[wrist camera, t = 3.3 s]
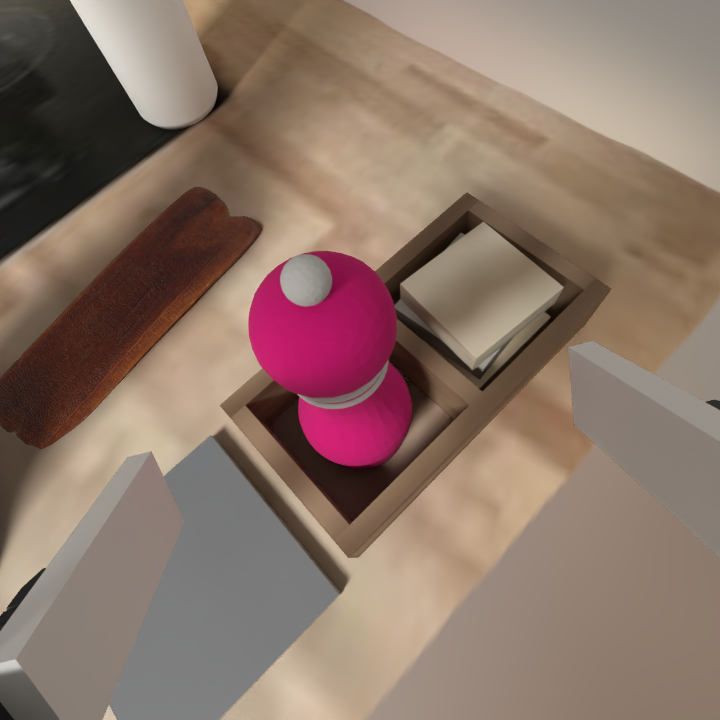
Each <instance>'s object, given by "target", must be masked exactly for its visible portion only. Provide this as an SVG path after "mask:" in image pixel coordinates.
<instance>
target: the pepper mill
mask: <svg viewBox="0 0 720 720" xmlns="http://www.w3.org/2000/svg"><path fill="white" fill-rule="evenodd" d="M396 333H397V316H396V311H395V307H394V303H393V300H392V298H391V295H390V293H389V291H388V289H387V287H386V286H385V284H384V282H383V281H382V280H381V278H380V277H379V276H378V275H377V273H376V272H375V271H373V270H372V269H371V268H370V267H368V266H367V265H366V264H365V263H364V262H362V261H360V260H358V259H356V258H354V257H352V256H348V255H345V254H342V253H337V252H330V251H315V252H310V253H304V254H301V255H298V256H295V257H292V258H290V259H288V260H287V261H285V262H283V263H282V264H280V265H278V266H277V267H276V268H275V269H274V270H273V271H272V272H271V273H269V274H268V275H267V276H266V278H265V279H264V280H263V282H262V283H261V284H260V286H259V288H258V289H257V291H256V293H255V295H254V298H253V301H252V304H251V308H250V312H249V337H250V341H251V345H252V349H253V351H254V353H255V356H256V358H257V360H258V362H259V363H260V365H261V367H262V368H263V369H264V370H265V371H266V373H267V374H268V375H269V376H270V377H271V378H272V379H273V380H274V381H276V382H277V383H278V384H279V385H281V386H282V387H283V388H285V389H287V390H289V391H291V392H293V393H295V394H297V395H298V396H299V406H298V414H299V421H300V424H301V427H302V430H303V432H304V434H305V436H306V438H307V439H308V441H309V443H310V444H311V445H312V447H313V448H314V449H315V450H316V451H317V452H318V453H319V454H321V455H322V456H323V457H325V458H327V459H328V460H330V461H332V462H335V463H338V464H342V465H344V466H347V467H350V468H354V469H368V468H373V467H376V466H379V465H381V464H383V463H384V462H386V461H387V460H388V459H390V458H391V457H392V456H393V455H394V454H395V453H396V452H397V450H398V448H399V447H400V445H401V443H402V441H403V439H404V437H405V436H406V434H407V432H408V429H409V427H410V423H411V418H412V402H411V397H410V394H409V390H408V387H407V384H406V382H405V380H404V378H403V377H402V375H401V374H400V372H399V371H398V370H397V369H396V368H395V367H394V366H393V365H392V364H391V363H390V362H389V357H390V355H391V352H392V350H393V347H394V345H395V340H396Z"/></svg>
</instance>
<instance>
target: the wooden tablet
mask: <svg viewBox="0 0 720 720" xmlns="http://www.w3.org/2000/svg"><path fill="white" fill-rule="evenodd" d="M260 232H261V225H260V224H259V223H258V222H256V221H254V220H253V219H250V218H248V217H245V216H243V217H242V216H240V217H230V216H229V212H228V209H227V206H226V205H225V204H224V203H223V202H222V200H220V199H219V198H218V197H217V196H216V195H215V194H214V193H212V192H210V191H209V190H207V189H205V188H201V187H198V188H197V187H194V188H192V189H190V190H189V191H187V192H186V193H184V194H183V195H182V196H181V197H180V198H179V199H177V200H176V201H175V202H174V203H173V204H171V205H170V206H169V207H168V208H167V209H166V210H165V211H164V212H163V213H161V214H160V215H159V216H158V217H157V218H156V219H155V220H154V221H153V222H152V223H151V224H150V225H149V226H148V227H147V228H146V229H145V230H144V231H143V232H142V233H140V234H139V235H138V236H137V237H136V238H135V239H134V240H133V241H132V242H131V243H130V244H129V245H128V246H127V247H126V248H125V249H124V250H123V251H122V252H121V253H120V254H119V255H118V256H117V257H116V258H115V259H114V260H113V261H112V262H111V263H110V264H109V265H108V266H107V267H106V268H105V269H104V270H103V271H102V272H101V273H100V274H99V275H98V276H97V277H96V278H95V279H94V280H93V281H92V282H91V283H90V285H89V286H88V287H87V288H86V289H85V290H84V291H83V292H82V293H81V294H80V295H79V296H78V297H77V298H76V299H75V300H74V301H73V302H72V303H71V304H70V305H69V306H68V307H67V308H66V310H65V311H64V312H63V313H62V314H61V315H60V316H59V317H58V318H57V319H56V320H55V321H54V322H53V323H52V324H51V325H50V327H49V328H48V329H47V330H46V331H45V332H44V333H42V335H41V336H40V337H39V338H38V339H37V340H36V341H35V342H34V343H33V344H32V345H31V346H30V347H29V348H28V349H27V350H26V351H25V352H24V353H23V354H22V356H21V358H20V359H19V360H17V361H16V362H15V363H14V364H13V365H12V366H11V368H10V369H9V370H8V371H7V372H6V373H5V374H4V375H3V376H2V377H1V379H0V425H1V426H2V427H3V428H4V429H5V430H6V431H8V432H13V431H14V432H16V434H17V436H18V437H19V438H20V439H21V440H22V441H23V442H24V443H25V444H28V445H33V446H36V447H38V448H40V449H42V448H45V447H48V446H50V445H51V444H53V443H54V442H56V441H57V440H58V439H60V438H61V437H63V436H64V435H65V434H67V433H68V432H70V431H71V430H72V429H73V428H75V427H76V426H77V425H79V424H80V423H81V422H82V421H84V420H85V419H86V418H87V417H88V416H89V415H90V414H91V413H92V412H93V411H94V410H95V408H96V407H97V406H98V405H99V404H100V403H101V402H102V401H103V400H104V398H105V397H106V396H107V395H108V394H109V393H110V392H111V391H112V390H113V389H114V388H115V387H116V386H117V384H118V383H119V382H120V381H121V380H122V379H123V378H124V377H125V376H126V375H127V374H128V373H129V372H130V370H131V369H132V368H133V367H134V366H135V365H136V364H137V362H138V361H139V360H140V359H141V358H142V357H143V356H144V355H145V354H146V353H147V352H148V350H149V349H150V348H151V347H152V346H153V345H154V344H155V343H156V342H157V341H158V340H159V339H160V338H161V337H162V336H163V335H164V334H165V332H166V331H167V330H168V329H169V328H170V327H171V326H172V325H173V324H174V323H175V322H176V321H177V320H178V319H179V318H180V317H181V316H182V315H183V314H184V313H185V312H186V311H187V310H188V309H189V308H190V307H191V306H192V305H193V304H194V303H195V302H196V301H197V300H198V299H199V298H200V297H201V296H202V295H203V294H204V293H205V292H206V291H207V290H208V289H209V288H210V287H211V286H212V284H213V283H214V282H215V281H216V280H218V279H219V278H220V277H221V276H222V275H223V274H224V273H225V272H226V271H227V270H228V269H229V268H230V267H231V266H232V265H233V264H234V263H235V262H236V261H237V260H238V259H239V258H240V257H241V256H242V255H243V253H244V252H245V251H246V250H247V249H248V248H249V247H250V246H251V244H252V243H253V242H254V240H255V239H256V238H257V236H258V235H259V234H260Z"/></svg>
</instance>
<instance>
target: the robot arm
mask: <svg viewBox="0 0 720 720" xmlns="http://www.w3.org/2000/svg"><path fill="white" fill-rule="evenodd" d="M568 353H569V367H570V380H571V393H572V407H573V420H574V425H575V426H576V427H577V428H578V429H579V430H580V431H582V432H583V433H584V434H585V435H586V436H587V437H588V438H589V439H590V440H591V441H592V442H594V443H595V444H596V445H597V446H598V447H599V448H600V449H601V450H602V451H603V452H604V453H606V454H607V455H608V456H609V457H610V458H611V459H612V460H613V461H614V462H615V463H617V464H618V465H619V466H620V467H621V468H622V469H623V470H624V471H625V472H626V473H627V474H629V475H630V476H631V477H632V478H633V479H634V480H635V481H636V482H637V483H638V484H639V485H641V486H642V487H643V488H644V489H645V490H646V491H647V492H648V493H649V494H650V495H651V496H653V497H654V498H655V499H656V500H657V501H658V502H659V503H660V504H661V505H662V506H663V507H665V508H666V509H667V510H668V511H669V512H670V513H671V514H672V515H673V516H674V517H675V518H677V519H678V520H679V521H680V522H681V523H682V524H683V525H684V526H685V527H686V528H687V529H689V530H690V531H691V532H692V533H693V534H694V535H695V536H696V537H697V538H698V539H699V540H701V541H702V542H703V543H704V544H705V545H706V546H707V547H708V548H709V549H710V550H711V551H713V552H714V553H715V554H716V555H717V556H718V557H719V558H720V401H717V400H711V401H707V402H704V401H702V400H700V399H698V398H696V397H695V396H693V395H691V394H689V393H687V392H686V391H684V390H682V389H680V388H678V387H676V386H675V385H673V384H671V383H669V382H667V381H665V380H664V379H662V378H660V377H658V376H656V375H654V374H652V373H651V372H649V371H647V370H645V369H643V368H641V367H640V366H638V365H636V364H634V363H632V362H630V361H629V360H627V359H625V358H623V357H621V356H619V355H618V354H616V353H614V352H612V351H610V350H608V349H607V348H605V347H603V346H601V345H599V344H597V343H596V342H594V341H590V342H586V343H582V344H578V345H574V346H570V347H568ZM183 524H184V520H183V517H182V515H181V513H180V511H179V509H178V507H177V505H176V503H175V500H174V498H173V496H172V494H171V492H170V490H169V488H168V485H167V483H166V481H165V479H164V477H163V475H162V473H161V471H160V468H159V466H158V464H157V462H156V460H155V458H154V456H153V454H152V451H151V452H147V453H143V454H139V455H135V456H131V457H127V459H126V460H125V461H124V463H123V464H122V465H121V467H120V468H119V470H118V471H117V472H116V474H115V475H114V476H113V478H112V479H111V480H110V482H109V483H108V485H107V486H106V487H105V489H104V490H103V491H102V493H101V494H100V496H99V497H98V498H97V500H96V501H95V502H94V504H93V505H92V506H91V508H90V509H89V511H88V512H87V513H86V515H85V516H84V517H83V519H82V520H81V522H80V523H79V524H78V526H77V527H76V528H75V530H74V531H73V532H72V534H71V535H70V537H69V538H68V539H67V541H66V542H65V543H64V545H63V546H62V548H61V549H60V550H59V552H58V553H57V554H56V556H55V557H54V558H53V560H52V561H51V563H50V564H49V565H48V567H47V568H44V569H42V570H41V571H40V572H39V573H38V574H37V575H35V576H34V577H33V578H32V579H31V580H30V581H29V582H28V583H27V584H25V585H24V586H23V587H22V588H21V590H20V591H19V592H18V594H17V595H16V596H15V597H14V599H13V600H12V601H11V603H10V604H9V605H8V607H7V611H6V612H3V613H2V615H1V616H0V720H102V719H103V717H104V715H105V712H106V710H107V707H108V705H109V703H110V700H111V698H112V695H113V693H114V691H115V688H116V686H117V683H118V681H119V678H120V676H121V674H122V671H123V669H124V666H125V664H126V662H127V659H128V657H129V654H130V652H131V649H132V647H133V645H134V642H135V640H136V637H137V635H138V633H139V630H140V628H141V625H142V623H143V621H144V618H145V616H146V613H147V611H148V608H149V606H150V604H151V601H152V599H153V596H154V594H155V592H156V589H157V587H158V584H159V582H160V579H161V577H162V575H163V572H164V570H165V567H166V565H167V563H168V560H169V558H170V555H171V553H172V551H173V548H174V546H175V543H176V541H177V538H178V536H179V534H180V531H181V529H182V526H183Z"/></svg>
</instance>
